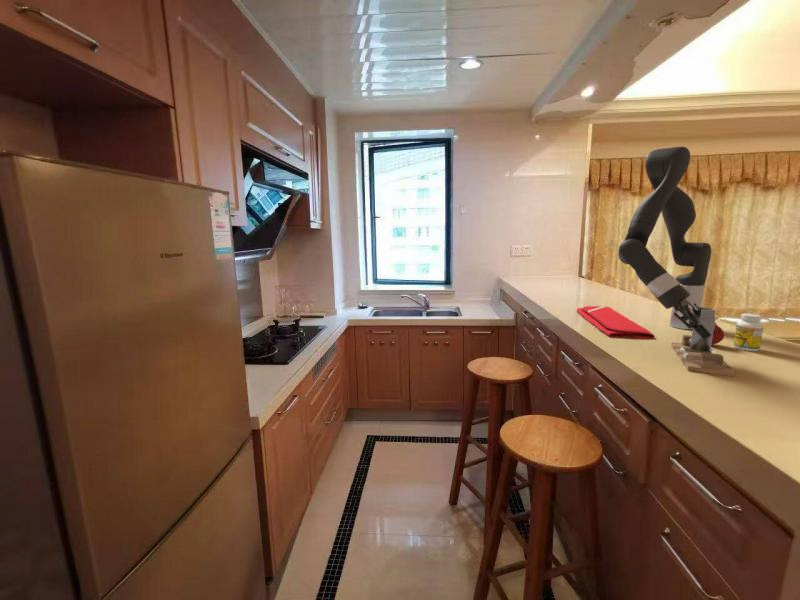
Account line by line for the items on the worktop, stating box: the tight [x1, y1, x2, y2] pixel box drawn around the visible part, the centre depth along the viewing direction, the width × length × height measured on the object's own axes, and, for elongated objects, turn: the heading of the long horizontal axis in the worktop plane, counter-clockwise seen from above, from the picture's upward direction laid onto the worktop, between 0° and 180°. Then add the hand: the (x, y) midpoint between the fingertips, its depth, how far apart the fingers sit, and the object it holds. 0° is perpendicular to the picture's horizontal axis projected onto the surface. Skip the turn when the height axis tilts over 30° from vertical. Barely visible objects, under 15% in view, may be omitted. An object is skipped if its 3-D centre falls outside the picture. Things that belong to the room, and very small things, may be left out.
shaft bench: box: [670, 334, 736, 377], centre depth 111 cm, size 24×10×5 cm, turn 153°
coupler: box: [690, 306, 716, 352], centre depth 109 cm, size 5×5×12 cm
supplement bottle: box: [733, 312, 764, 352], centre depth 119 cm, size 6×6×11 cm
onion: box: [711, 322, 725, 346], centre depth 123 cm, size 6×6×8 cm
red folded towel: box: [576, 305, 656, 339], centre depth 153 cm, size 16×41×4 cm, turn 170°
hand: (710, 335), depth 108 cm, fingers closed on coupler, 4 cm apart
